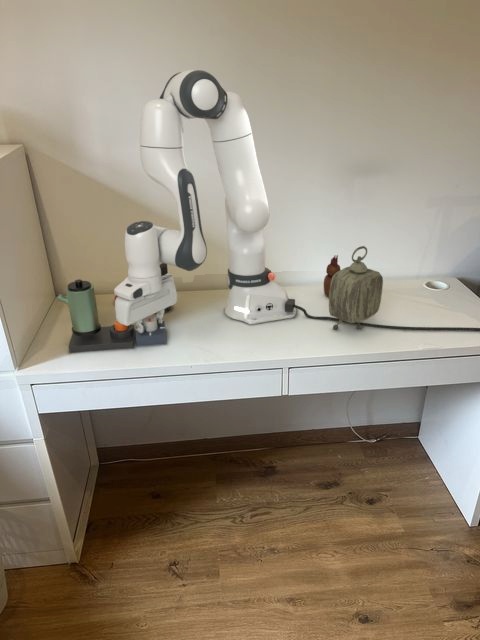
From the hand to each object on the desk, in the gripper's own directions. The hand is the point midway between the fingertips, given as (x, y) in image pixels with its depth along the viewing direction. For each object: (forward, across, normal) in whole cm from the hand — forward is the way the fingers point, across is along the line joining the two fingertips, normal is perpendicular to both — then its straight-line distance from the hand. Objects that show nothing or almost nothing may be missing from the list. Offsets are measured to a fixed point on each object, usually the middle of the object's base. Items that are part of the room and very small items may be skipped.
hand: (150, 327), depth 156 cm
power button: (0, +6, -6) cm, 8 cm away
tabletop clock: (+4, -41, +44) cm, 60 cm away
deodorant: (+4, -16, -12) cm, 20 cm away
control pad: (+3, 0, 0) cm, 3 cm away
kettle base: (+3, +10, -9) cm, 14 cm away
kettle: (-1, +13, -14) cm, 19 cm away
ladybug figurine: (+4, -14, -26) cm, 30 cm away
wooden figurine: (+4, -58, +27) cm, 64 cm away
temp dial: (0, 0, 0) cm, 0 cm away
